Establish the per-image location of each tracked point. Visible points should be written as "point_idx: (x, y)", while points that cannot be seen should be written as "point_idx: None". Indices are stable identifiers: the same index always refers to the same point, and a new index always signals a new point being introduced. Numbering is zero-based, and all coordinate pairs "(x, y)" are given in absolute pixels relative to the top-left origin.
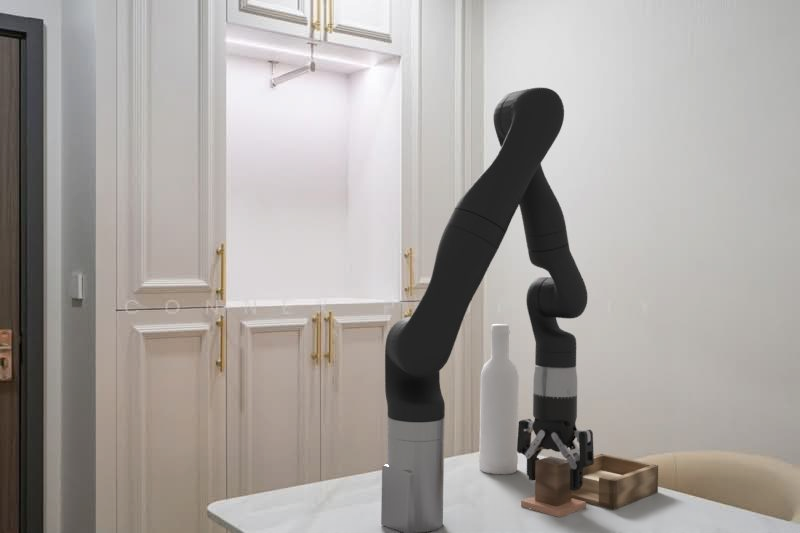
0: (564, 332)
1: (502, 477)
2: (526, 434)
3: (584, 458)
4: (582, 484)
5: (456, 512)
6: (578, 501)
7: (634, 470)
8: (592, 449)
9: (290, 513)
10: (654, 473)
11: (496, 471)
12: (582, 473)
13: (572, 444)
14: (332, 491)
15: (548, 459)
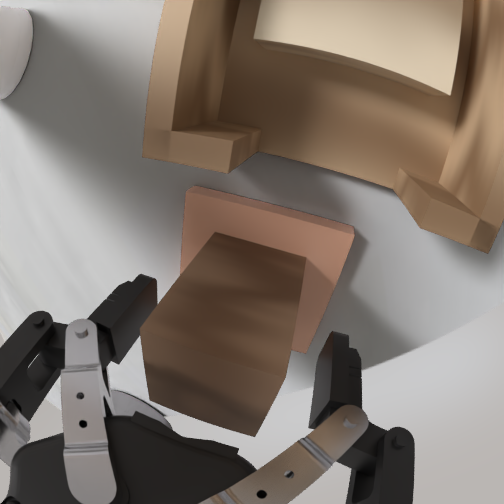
0: None
1: (30, 94)
2: (22, 404)
3: (370, 487)
4: (272, 47)
5: (131, 371)
6: (329, 245)
7: None
8: (407, 502)
9: (60, 396)
10: None
11: (10, 89)
12: (360, 394)
13: (280, 495)
14: (13, 332)
15: (171, 379)
